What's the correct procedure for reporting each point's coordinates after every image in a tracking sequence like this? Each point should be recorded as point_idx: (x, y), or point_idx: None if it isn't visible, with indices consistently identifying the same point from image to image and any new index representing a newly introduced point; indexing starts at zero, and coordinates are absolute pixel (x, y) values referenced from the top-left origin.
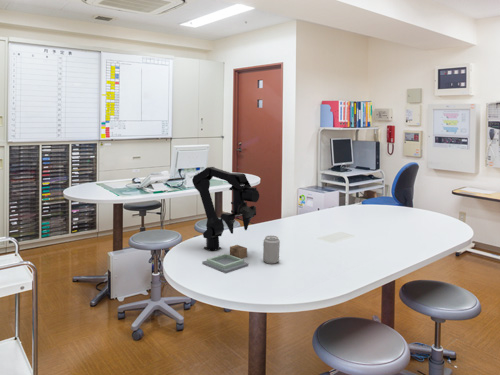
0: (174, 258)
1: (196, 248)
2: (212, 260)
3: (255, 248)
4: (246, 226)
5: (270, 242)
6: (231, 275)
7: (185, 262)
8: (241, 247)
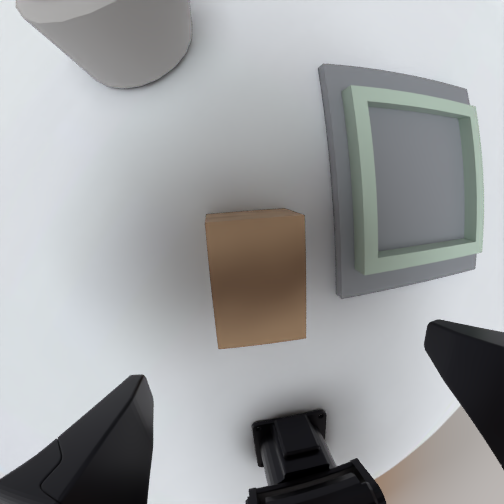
0: None
1: (343, 456)
2: (478, 215)
3: (57, 321)
4: (127, 414)
5: None
6: (450, 56)
7: (485, 317)
8: (237, 268)
